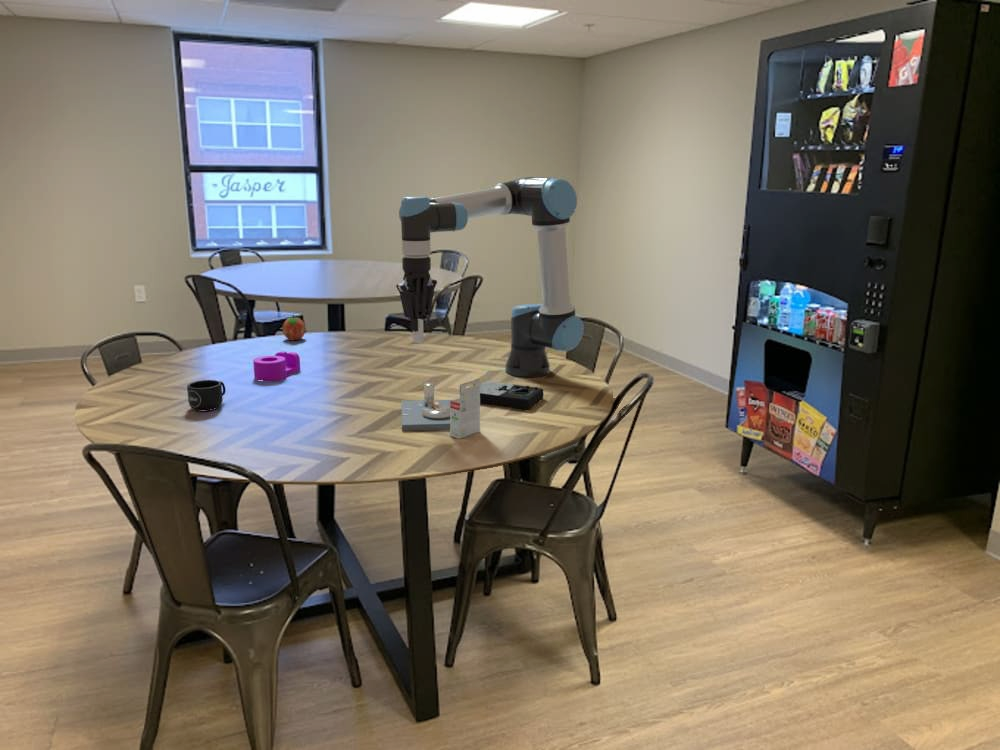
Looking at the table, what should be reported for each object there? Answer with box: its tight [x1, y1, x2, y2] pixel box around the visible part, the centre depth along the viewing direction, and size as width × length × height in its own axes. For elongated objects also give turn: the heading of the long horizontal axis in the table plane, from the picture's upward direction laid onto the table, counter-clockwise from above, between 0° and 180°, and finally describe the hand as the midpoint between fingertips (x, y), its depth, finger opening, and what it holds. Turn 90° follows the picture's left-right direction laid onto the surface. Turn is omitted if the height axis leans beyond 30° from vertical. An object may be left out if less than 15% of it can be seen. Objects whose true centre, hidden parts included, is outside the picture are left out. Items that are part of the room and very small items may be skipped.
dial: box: [422, 382, 450, 420], centre depth 209 cm, size 14×9×6 cm, turn 22°
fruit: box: [282, 314, 306, 341], centre depth 297 cm, size 9×10×10 cm
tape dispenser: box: [252, 350, 301, 382], centre depth 247 cm, size 16×10×6 cm, turn 163°
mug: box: [186, 379, 226, 411], centre depth 214 cm, size 12×9×7 cm
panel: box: [400, 399, 452, 432], centre depth 210 cm, size 20×21×2 cm
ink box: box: [449, 378, 481, 440], centre depth 195 cm, size 4×8×15 cm, turn 140°
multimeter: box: [480, 380, 544, 411], centre depth 225 cm, size 13×19×5 cm
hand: (418, 342), depth 208 cm, fingers closed
